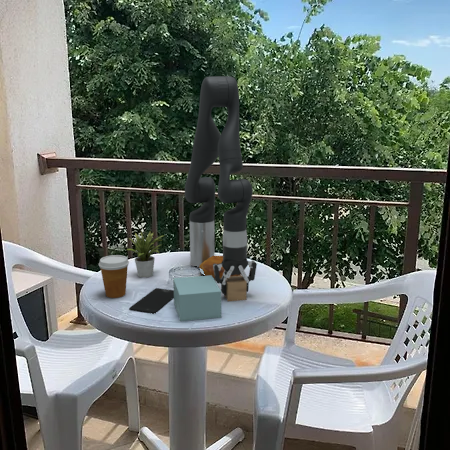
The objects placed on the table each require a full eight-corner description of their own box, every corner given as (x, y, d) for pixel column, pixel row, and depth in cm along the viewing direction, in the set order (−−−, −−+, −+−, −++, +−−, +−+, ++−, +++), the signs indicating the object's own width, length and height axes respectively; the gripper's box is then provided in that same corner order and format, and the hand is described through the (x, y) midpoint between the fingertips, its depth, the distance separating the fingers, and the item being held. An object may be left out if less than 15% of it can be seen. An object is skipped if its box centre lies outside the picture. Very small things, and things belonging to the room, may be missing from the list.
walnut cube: (223, 294, 164) (223, 277, 163) (241, 292, 166) (241, 275, 164) (227, 301, 159) (227, 283, 157) (246, 299, 160) (246, 281, 158)
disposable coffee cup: (101, 301, 159) (98, 265, 156) (100, 290, 168) (97, 256, 165) (132, 298, 161) (130, 262, 158) (129, 287, 170) (127, 253, 167)
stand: (173, 302, 158) (173, 278, 156) (211, 299, 160) (211, 275, 158) (180, 321, 145) (179, 295, 143) (221, 317, 147) (221, 291, 145)
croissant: (228, 290, 174) (231, 269, 171) (192, 276, 181) (193, 255, 179) (249, 276, 186) (252, 256, 183) (214, 264, 193) (216, 244, 191)
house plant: (162, 283, 174) (161, 237, 170) (122, 283, 174) (120, 237, 170) (168, 269, 188) (167, 227, 184) (131, 269, 188) (128, 226, 184)
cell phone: (180, 293, 166) (180, 291, 166) (154, 315, 150) (154, 312, 149) (156, 290, 169) (156, 287, 169) (128, 311, 153) (128, 308, 152)
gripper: (253, 238, 163) (253, 287, 167) (209, 241, 160) (210, 291, 164) (260, 245, 156) (259, 296, 160) (214, 248, 153) (215, 300, 157)
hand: (234, 293), depth 162 cm, fingers closed on walnut cube, 6 cm apart
